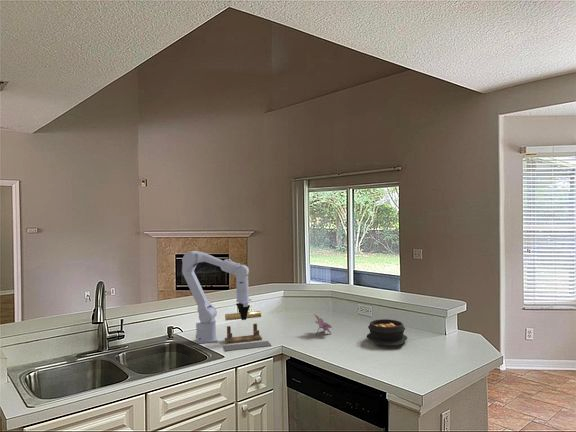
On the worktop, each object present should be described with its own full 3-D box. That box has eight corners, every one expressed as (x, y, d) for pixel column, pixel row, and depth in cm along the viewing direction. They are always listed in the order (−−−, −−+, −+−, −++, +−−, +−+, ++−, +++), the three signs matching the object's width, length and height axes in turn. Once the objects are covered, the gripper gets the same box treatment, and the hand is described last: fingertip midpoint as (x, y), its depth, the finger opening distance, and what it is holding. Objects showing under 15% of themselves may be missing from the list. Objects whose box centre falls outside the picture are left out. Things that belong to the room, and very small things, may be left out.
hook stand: (226, 343, 198) (226, 329, 197) (224, 340, 204) (224, 326, 204) (261, 339, 202) (261, 326, 202) (259, 336, 208) (258, 323, 208)
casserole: (412, 349, 183) (411, 330, 183) (368, 349, 185) (368, 330, 185) (402, 333, 208) (402, 316, 208) (364, 333, 210) (364, 316, 210)
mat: (225, 351, 187) (225, 350, 187) (223, 346, 193) (223, 345, 193) (271, 346, 193) (271, 345, 193) (267, 341, 199) (267, 340, 199)
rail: (226, 321, 198) (225, 314, 198) (225, 319, 201) (224, 313, 201) (261, 317, 203) (261, 311, 203) (259, 316, 206) (259, 310, 206)
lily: (332, 340, 203) (338, 321, 206) (309, 331, 203) (315, 312, 206) (326, 341, 214) (332, 322, 217) (305, 332, 214) (311, 314, 217)
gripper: (253, 292, 196) (254, 321, 196) (247, 287, 210) (248, 314, 210) (238, 293, 194) (239, 323, 194) (233, 288, 208) (234, 316, 208)
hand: (243, 318), depth 202 cm, fingers closed on rail, 3 cm apart
